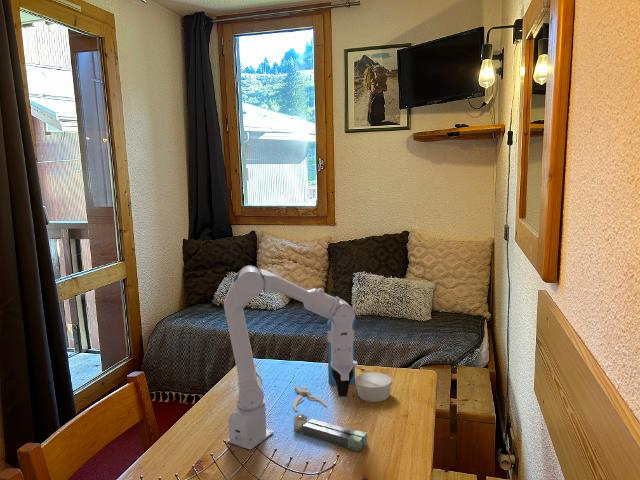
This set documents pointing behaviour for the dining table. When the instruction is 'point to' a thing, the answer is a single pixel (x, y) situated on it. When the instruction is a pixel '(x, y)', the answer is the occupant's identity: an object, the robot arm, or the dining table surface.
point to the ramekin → (373, 386)
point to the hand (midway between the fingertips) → (342, 395)
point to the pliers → (306, 392)
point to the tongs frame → (327, 434)
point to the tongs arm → (340, 429)
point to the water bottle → (331, 378)
